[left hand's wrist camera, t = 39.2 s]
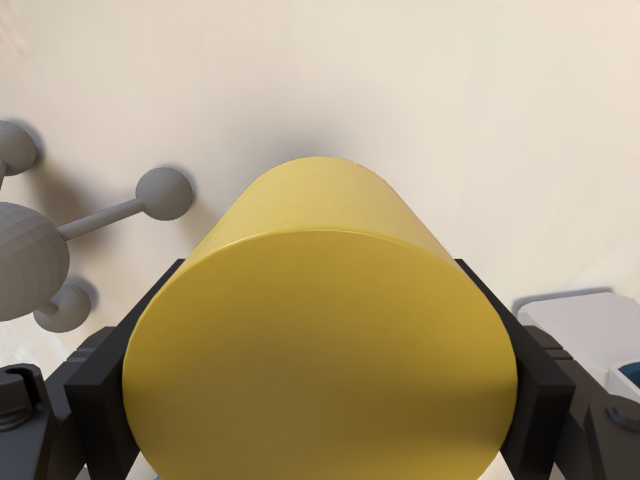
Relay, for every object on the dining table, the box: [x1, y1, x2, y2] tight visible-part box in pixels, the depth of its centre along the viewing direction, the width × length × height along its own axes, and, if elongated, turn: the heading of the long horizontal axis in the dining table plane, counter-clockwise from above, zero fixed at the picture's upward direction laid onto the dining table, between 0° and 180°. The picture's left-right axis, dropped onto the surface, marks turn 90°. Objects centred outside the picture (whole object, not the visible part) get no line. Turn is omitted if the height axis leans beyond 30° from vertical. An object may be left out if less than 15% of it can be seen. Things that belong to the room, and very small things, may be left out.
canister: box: [122, 156, 518, 480], centre depth 13 cm, size 9×9×10 cm
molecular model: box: [0, 120, 192, 333], centre depth 28 cm, size 24×22×30 cm
